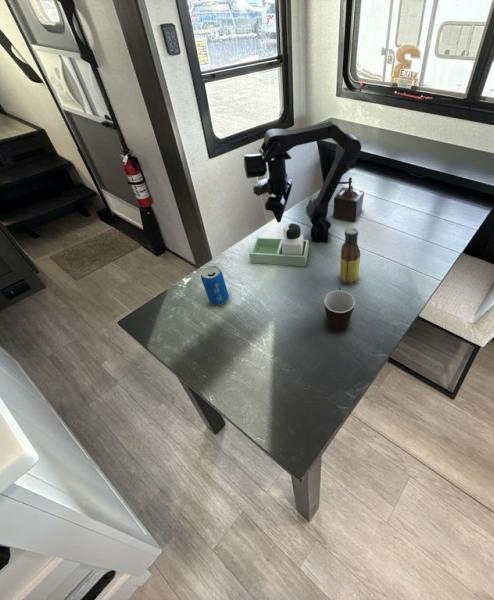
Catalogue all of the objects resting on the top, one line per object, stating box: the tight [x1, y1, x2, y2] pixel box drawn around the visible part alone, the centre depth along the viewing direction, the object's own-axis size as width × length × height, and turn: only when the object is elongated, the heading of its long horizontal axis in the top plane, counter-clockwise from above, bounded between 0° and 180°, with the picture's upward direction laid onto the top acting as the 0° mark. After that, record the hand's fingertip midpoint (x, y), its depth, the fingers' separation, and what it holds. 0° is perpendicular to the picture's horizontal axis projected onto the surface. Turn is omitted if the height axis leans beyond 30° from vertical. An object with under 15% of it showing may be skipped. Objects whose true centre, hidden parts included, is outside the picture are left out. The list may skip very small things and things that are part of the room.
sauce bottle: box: [339, 226, 361, 285], centre depth 101 cm, size 6×6×20 cm
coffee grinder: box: [332, 176, 365, 222], centre depth 132 cm, size 16×11×18 cm
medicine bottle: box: [281, 223, 304, 256], centre depth 113 cm, size 7×7×12 cm
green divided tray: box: [249, 236, 310, 267], centre depth 117 cm, size 11×20×4 cm, turn 83°
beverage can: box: [200, 265, 230, 306], centre depth 99 cm, size 6×6×12 cm
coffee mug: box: [323, 286, 356, 333], centre depth 92 cm, size 12×9×10 cm
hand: (281, 215), depth 114 cm, fingers open, 9 cm apart
